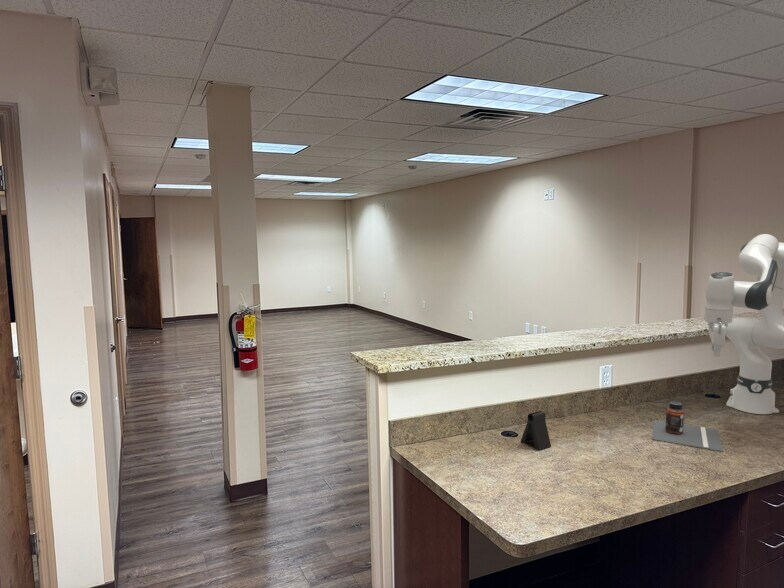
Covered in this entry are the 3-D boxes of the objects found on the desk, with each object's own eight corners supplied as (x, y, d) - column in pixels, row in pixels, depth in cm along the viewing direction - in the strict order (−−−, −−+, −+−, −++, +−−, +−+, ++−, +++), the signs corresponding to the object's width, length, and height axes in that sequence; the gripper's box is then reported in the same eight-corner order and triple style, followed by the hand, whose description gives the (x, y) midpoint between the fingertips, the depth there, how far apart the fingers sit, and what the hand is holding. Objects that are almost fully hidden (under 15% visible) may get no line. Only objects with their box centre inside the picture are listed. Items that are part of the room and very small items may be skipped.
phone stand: (520, 442, 190) (521, 410, 188) (532, 438, 193) (533, 407, 191) (539, 451, 182) (540, 418, 181) (551, 447, 185) (552, 414, 184)
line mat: (653, 420, 211) (653, 419, 210) (717, 430, 200) (717, 428, 200) (652, 440, 191) (652, 438, 191) (722, 451, 181) (722, 450, 181)
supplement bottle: (686, 435, 195) (688, 405, 194) (669, 434, 195) (671, 405, 194) (677, 428, 201) (679, 400, 199) (662, 428, 201) (664, 400, 200)
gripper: (731, 321, 181) (728, 360, 183) (725, 313, 199) (722, 348, 201) (710, 320, 184) (707, 358, 186) (706, 312, 202) (704, 347, 204)
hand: (715, 353), depth 194 cm, fingers open, 8 cm apart
